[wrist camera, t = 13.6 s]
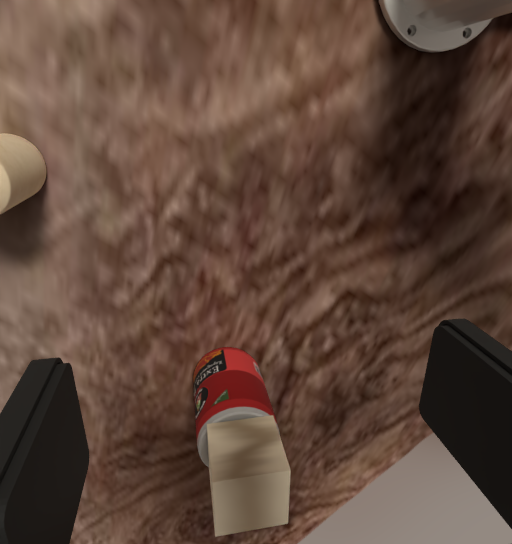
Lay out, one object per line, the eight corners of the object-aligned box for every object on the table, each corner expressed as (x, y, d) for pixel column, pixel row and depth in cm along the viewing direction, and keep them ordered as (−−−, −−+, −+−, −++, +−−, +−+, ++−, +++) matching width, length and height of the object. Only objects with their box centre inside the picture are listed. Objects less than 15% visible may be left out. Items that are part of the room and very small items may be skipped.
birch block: (273, 415, 36) (290, 470, 30) (271, 464, 38) (287, 523, 32) (206, 424, 35) (212, 482, 29) (209, 473, 37) (215, 536, 31)
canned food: (210, 335, 44) (220, 401, 34) (270, 358, 47) (296, 425, 37) (180, 388, 46) (182, 465, 36) (240, 407, 49) (257, 483, 39)
